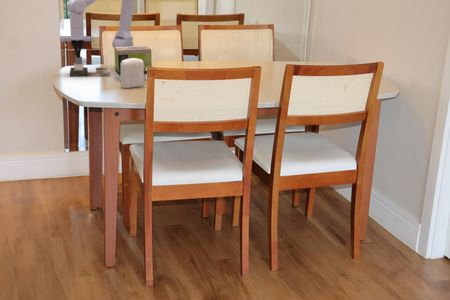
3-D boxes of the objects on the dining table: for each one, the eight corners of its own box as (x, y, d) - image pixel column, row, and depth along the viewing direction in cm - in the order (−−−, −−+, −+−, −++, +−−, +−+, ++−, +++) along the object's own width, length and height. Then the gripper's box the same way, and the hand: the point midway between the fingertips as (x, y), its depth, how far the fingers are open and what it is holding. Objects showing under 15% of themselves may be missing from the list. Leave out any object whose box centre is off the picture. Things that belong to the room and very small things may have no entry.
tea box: (147, 77, 290) (147, 45, 285) (152, 82, 281) (152, 49, 276) (115, 78, 285) (114, 45, 280) (118, 83, 276) (117, 49, 271)
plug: (83, 73, 288) (83, 56, 285) (83, 75, 284) (82, 58, 281) (74, 73, 287) (74, 56, 284) (74, 75, 283) (73, 58, 281)
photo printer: (141, 84, 275) (140, 56, 271) (145, 86, 272) (145, 58, 268) (119, 87, 270) (118, 58, 266) (123, 89, 266) (122, 60, 262)
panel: (110, 74, 292) (110, 66, 291) (110, 78, 284) (110, 71, 283) (70, 74, 289) (70, 67, 288) (69, 79, 281) (69, 71, 280)
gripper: (59, 28, 273) (61, 59, 278) (93, 28, 276) (94, 59, 280) (60, 25, 280) (62, 56, 284) (93, 26, 283) (94, 56, 287)
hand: (78, 57), depth 283 cm, fingers closed, pressing on plug
